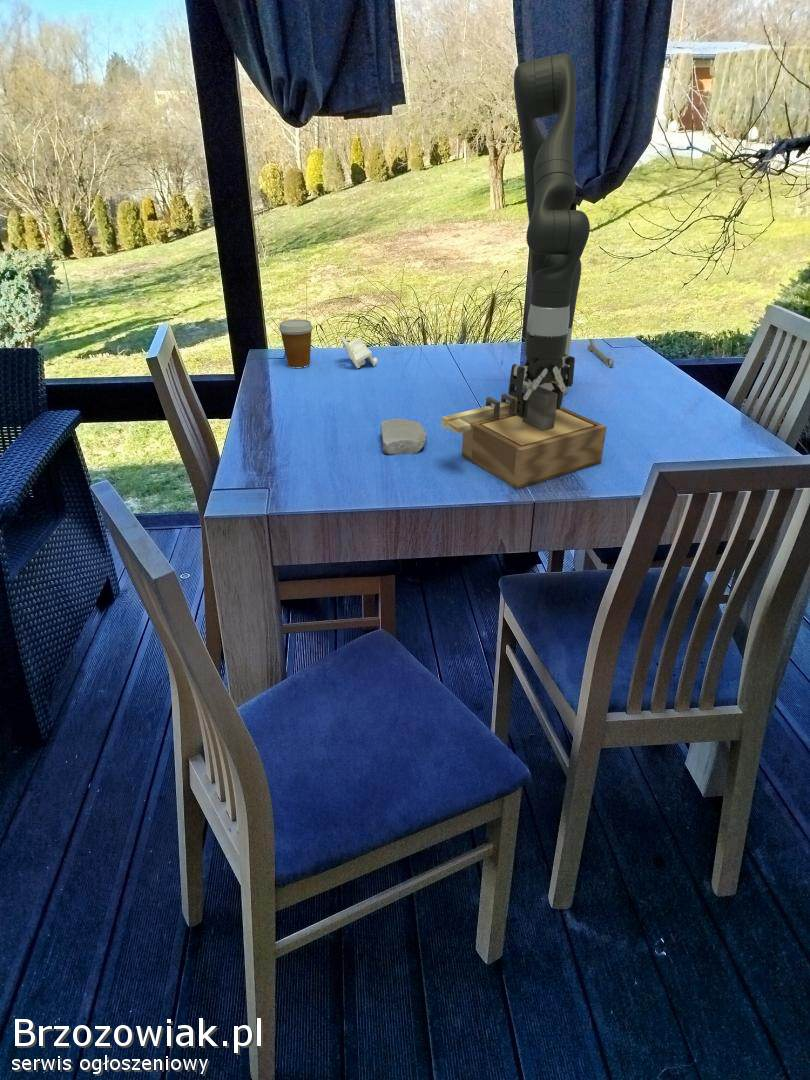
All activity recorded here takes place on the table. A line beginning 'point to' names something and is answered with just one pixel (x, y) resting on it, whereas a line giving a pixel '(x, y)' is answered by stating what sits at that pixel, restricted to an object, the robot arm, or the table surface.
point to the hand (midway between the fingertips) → (538, 412)
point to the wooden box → (532, 450)
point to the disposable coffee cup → (296, 341)
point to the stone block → (402, 436)
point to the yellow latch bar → (473, 417)
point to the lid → (538, 421)
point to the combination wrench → (600, 354)
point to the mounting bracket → (358, 352)
